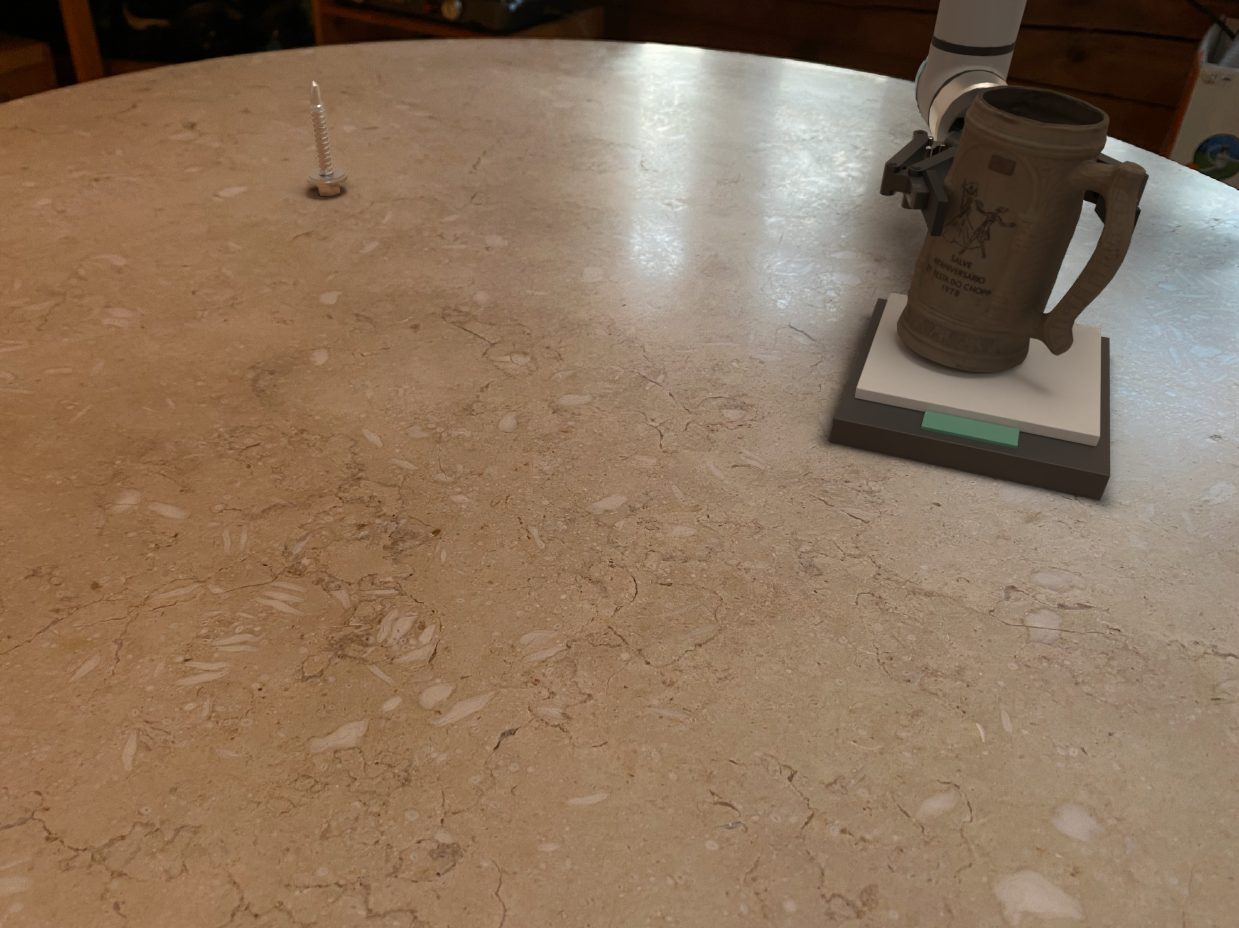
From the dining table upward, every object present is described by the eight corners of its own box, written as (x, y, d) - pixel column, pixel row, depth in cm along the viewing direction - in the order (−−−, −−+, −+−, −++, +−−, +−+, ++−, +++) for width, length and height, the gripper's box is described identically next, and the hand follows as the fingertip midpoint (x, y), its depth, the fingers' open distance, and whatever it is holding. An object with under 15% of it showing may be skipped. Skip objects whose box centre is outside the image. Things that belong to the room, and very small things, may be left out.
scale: (1098, 367, 93) (1113, 327, 90) (1097, 508, 77) (1115, 464, 74) (872, 326, 99) (880, 287, 96) (827, 449, 83) (835, 407, 80)
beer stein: (862, 330, 88) (947, 90, 75) (930, 297, 94) (1020, 70, 81) (1025, 420, 80) (1151, 169, 67) (1088, 378, 86) (1214, 141, 73)
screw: (341, 201, 123) (303, 199, 123) (355, 186, 127) (317, 184, 127) (326, 88, 115) (284, 85, 115) (340, 75, 118) (300, 73, 119)
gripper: (1110, 175, 95) (1191, 278, 78) (832, 164, 97) (853, 261, 81) (1138, 90, 90) (1231, 181, 73) (845, 80, 92) (871, 166, 76)
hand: (1034, 223), depth 77 cm, fingers open, 13 cm apart
